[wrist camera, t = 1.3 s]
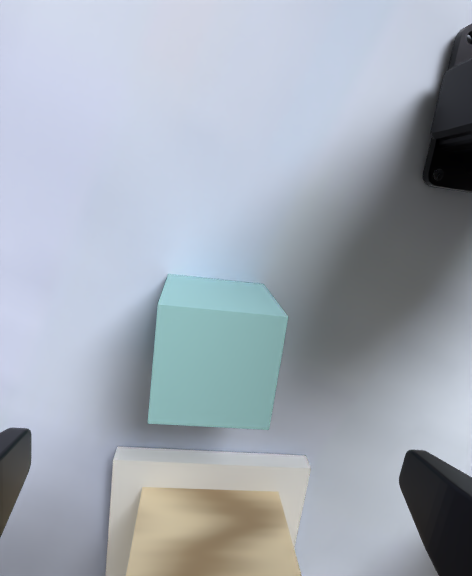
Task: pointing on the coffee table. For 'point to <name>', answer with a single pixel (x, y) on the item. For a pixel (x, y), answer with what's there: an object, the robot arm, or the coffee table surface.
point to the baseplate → (196, 485)
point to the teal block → (216, 354)
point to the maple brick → (211, 534)
